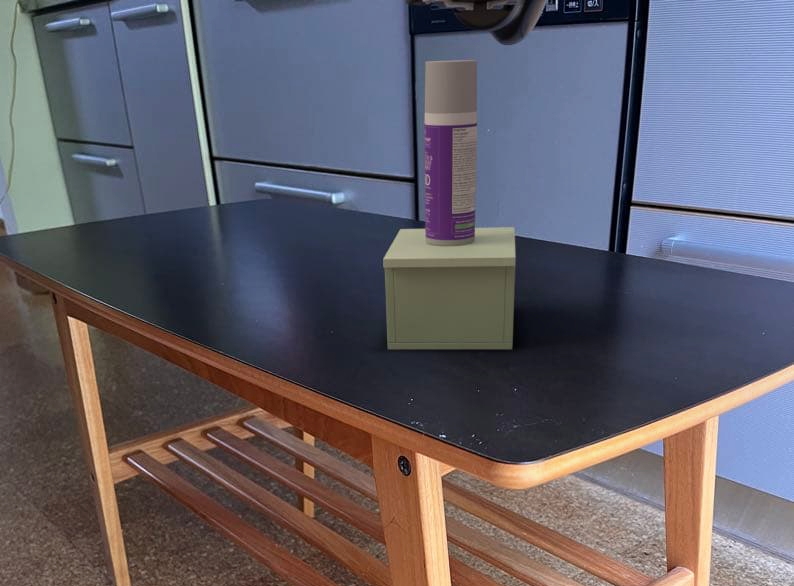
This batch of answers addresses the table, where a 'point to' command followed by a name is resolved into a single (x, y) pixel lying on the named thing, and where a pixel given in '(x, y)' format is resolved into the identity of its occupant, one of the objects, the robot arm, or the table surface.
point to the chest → (450, 307)
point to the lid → (453, 250)
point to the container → (450, 151)
